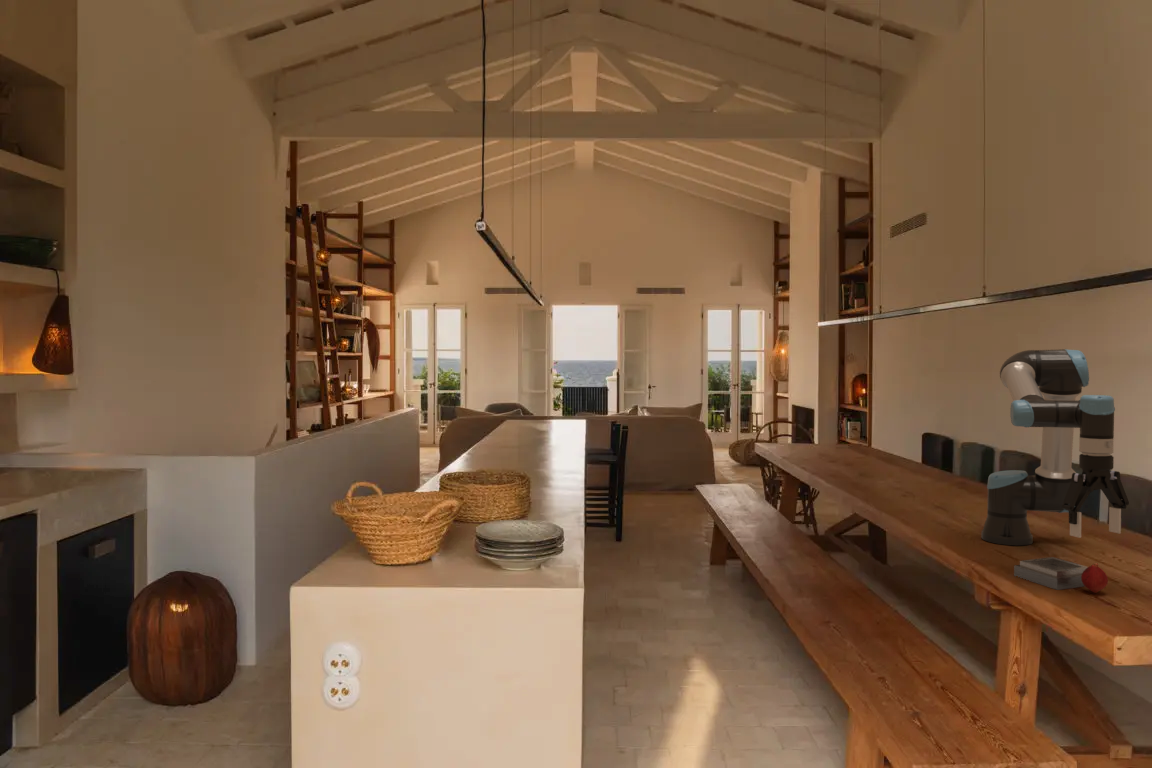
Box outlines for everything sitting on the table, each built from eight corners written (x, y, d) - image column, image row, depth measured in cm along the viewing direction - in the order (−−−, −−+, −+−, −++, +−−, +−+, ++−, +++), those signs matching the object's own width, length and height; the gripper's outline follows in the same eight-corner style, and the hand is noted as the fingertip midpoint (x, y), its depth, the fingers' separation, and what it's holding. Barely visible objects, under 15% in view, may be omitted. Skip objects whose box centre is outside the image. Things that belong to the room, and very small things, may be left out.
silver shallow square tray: (1014, 575, 224) (1014, 560, 224) (1052, 571, 228) (1052, 555, 228) (1057, 589, 211) (1057, 573, 211) (1097, 584, 215) (1097, 568, 215)
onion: (1084, 594, 206) (1084, 564, 206) (1078, 588, 212) (1079, 559, 212) (1110, 597, 204) (1110, 566, 204) (1104, 590, 210) (1104, 560, 209)
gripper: (1072, 458, 199) (1071, 541, 200) (1145, 453, 207) (1144, 533, 207) (1046, 454, 207) (1045, 534, 207) (1118, 450, 214) (1117, 527, 215)
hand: (1095, 534), depth 207 cm, fingers open, 13 cm apart
